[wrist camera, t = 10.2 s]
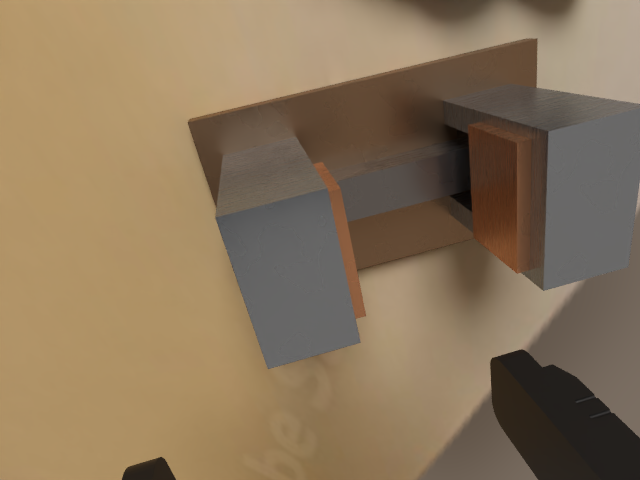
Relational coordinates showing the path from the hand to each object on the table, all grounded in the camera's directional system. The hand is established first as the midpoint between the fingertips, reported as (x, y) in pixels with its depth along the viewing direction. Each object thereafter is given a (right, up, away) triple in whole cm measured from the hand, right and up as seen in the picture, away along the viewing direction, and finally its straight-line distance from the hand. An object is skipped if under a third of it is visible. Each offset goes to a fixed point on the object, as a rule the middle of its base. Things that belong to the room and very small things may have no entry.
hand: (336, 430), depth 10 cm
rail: (+3, +9, +16) cm, 18 cm away
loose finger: (-3, +6, +14) cm, 16 cm away
